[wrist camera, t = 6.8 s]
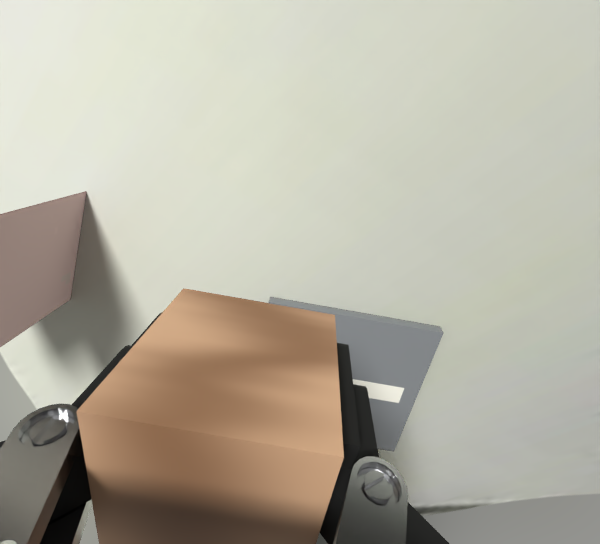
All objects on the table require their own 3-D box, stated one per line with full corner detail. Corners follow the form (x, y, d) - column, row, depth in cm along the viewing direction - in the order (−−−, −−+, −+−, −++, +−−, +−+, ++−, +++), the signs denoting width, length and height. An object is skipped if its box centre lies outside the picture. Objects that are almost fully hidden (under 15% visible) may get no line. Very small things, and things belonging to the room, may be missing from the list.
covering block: (334, 314, 11) (343, 456, 6) (308, 423, 13) (300, 590, 8) (183, 288, 10) (76, 411, 6) (182, 401, 13) (101, 556, 8)
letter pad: (439, 326, 30) (443, 332, 29) (392, 443, 37) (393, 451, 36) (270, 296, 30) (268, 302, 29) (253, 419, 37) (251, 427, 36)
